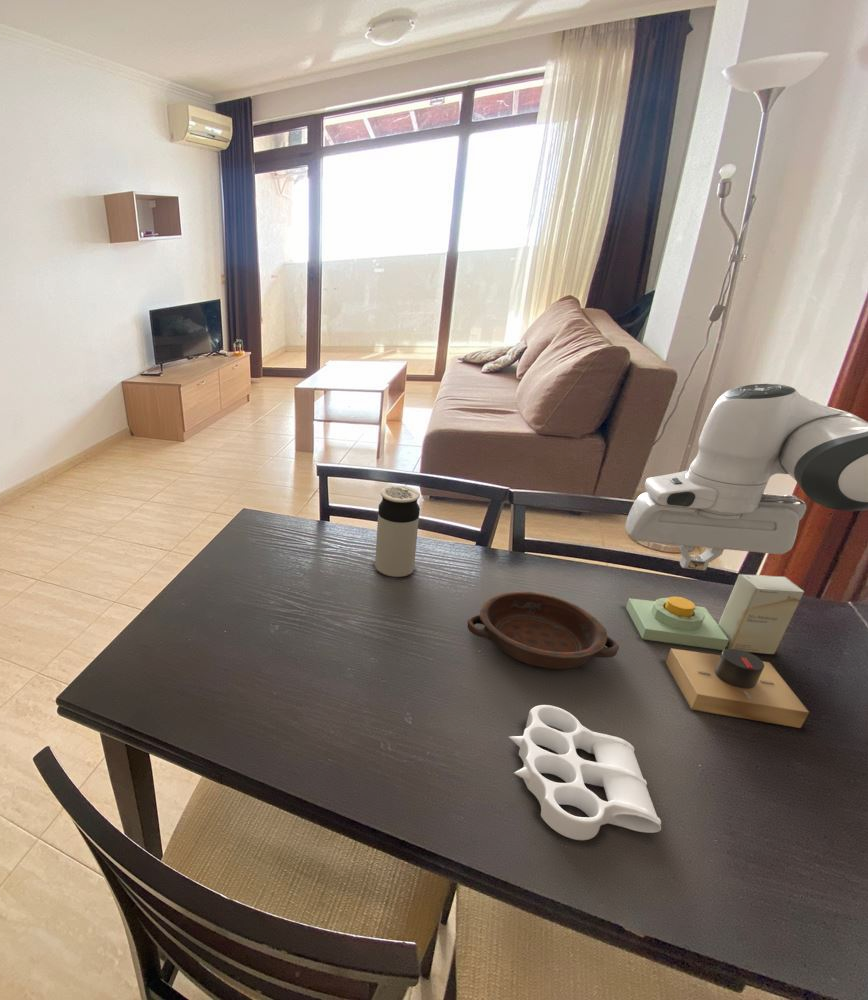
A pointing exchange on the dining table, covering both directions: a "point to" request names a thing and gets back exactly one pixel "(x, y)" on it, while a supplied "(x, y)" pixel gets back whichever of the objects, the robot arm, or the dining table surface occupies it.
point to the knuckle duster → (583, 776)
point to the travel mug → (397, 531)
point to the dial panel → (735, 691)
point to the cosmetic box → (759, 612)
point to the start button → (680, 606)
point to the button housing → (675, 625)
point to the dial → (739, 668)
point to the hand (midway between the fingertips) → (692, 567)
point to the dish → (542, 630)
